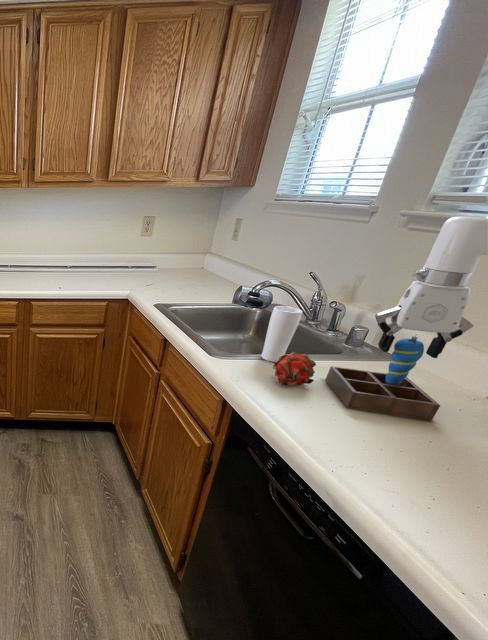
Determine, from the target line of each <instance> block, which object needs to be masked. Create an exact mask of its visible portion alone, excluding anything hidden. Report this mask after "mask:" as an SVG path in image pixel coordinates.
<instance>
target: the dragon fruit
mask: <svg viewBox="0 0 488 640" xmlns="http://www.w3.org/2000/svg"><path fill="white" fill-rule="evenodd" d="M315 366H317V363H316V362H315V360H313V359H311V358H310V356H309V355H307V354H306V353H299V352H296V351H292V352H291V353H289V355H288V354H285V355H283V356H281V357H279V360H278V361H277V362H274V364H273V366H272V369H273V370H275V371H274V376H275V377H277V380H278V383H279V384H280V385H281V386H288V385H289V386H292V387H295V386H303V385H304V384H306V385H309V384H312V383H313V382H314V381H315V380H314V379H313V377H314V376H315V375H314V374H315V373H316V372H315V370H314V368H315Z"/></svg>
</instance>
